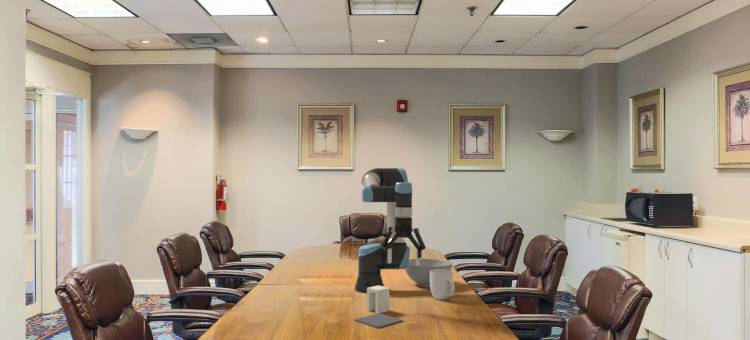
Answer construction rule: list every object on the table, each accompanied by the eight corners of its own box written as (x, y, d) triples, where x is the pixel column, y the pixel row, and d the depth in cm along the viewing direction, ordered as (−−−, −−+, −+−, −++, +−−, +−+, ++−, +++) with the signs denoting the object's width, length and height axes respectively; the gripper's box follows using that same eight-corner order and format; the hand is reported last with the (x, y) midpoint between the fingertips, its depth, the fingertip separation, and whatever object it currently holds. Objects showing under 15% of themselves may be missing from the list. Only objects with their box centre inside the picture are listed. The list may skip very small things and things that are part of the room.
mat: (354, 320, 209) (354, 319, 209) (379, 314, 218) (379, 313, 218) (377, 328, 199) (377, 326, 199) (402, 321, 208) (403, 320, 208)
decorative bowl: (394, 281, 286) (394, 260, 286) (436, 278, 297) (436, 257, 297) (417, 291, 261) (417, 268, 262) (462, 287, 272) (462, 264, 272)
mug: (462, 300, 243) (462, 273, 243) (445, 303, 237) (445, 275, 237) (442, 294, 256) (442, 268, 256) (424, 297, 250) (424, 270, 250)
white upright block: (366, 310, 225) (366, 287, 225) (378, 307, 230) (378, 285, 230) (377, 313, 220) (377, 290, 220) (389, 310, 225) (389, 287, 225)
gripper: (375, 216, 232) (374, 263, 231) (426, 218, 220) (426, 267, 220) (382, 215, 238) (381, 260, 238) (432, 217, 227) (432, 265, 227)
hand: (403, 264), depth 229 cm, fingers open, 13 cm apart
